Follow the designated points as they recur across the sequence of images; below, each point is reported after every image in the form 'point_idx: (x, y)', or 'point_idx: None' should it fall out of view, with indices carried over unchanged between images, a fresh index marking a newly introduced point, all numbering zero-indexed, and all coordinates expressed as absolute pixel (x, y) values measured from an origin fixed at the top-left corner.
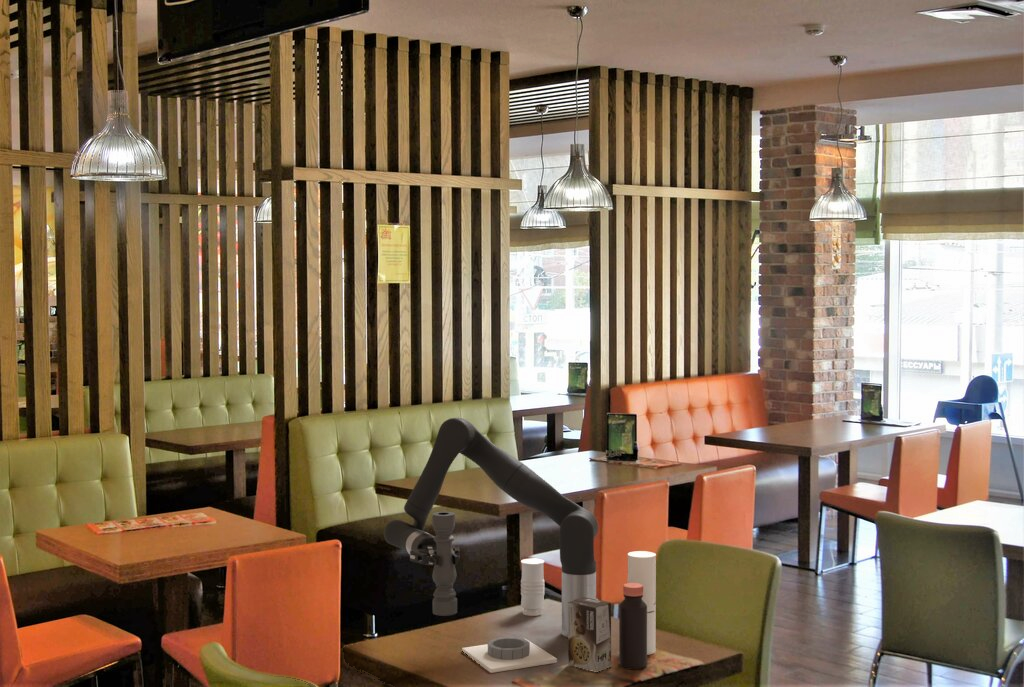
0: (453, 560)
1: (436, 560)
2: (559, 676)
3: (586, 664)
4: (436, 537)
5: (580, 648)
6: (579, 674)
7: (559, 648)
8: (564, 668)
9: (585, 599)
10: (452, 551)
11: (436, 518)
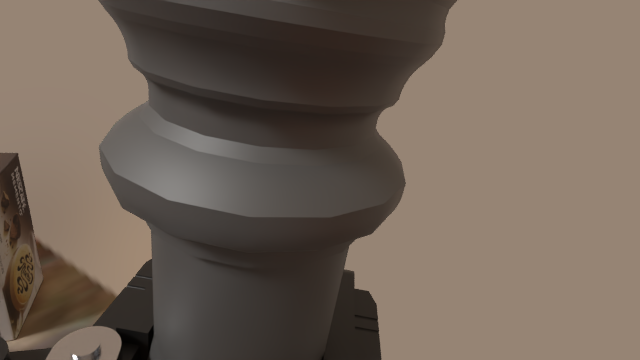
0: None
1: (364, 296)
2: (109, 305)
3: (33, 286)
4: (382, 139)
5: (23, 270)
6: (70, 292)
7: None
8: (45, 331)
9: None
10: (89, 334)
11: None
